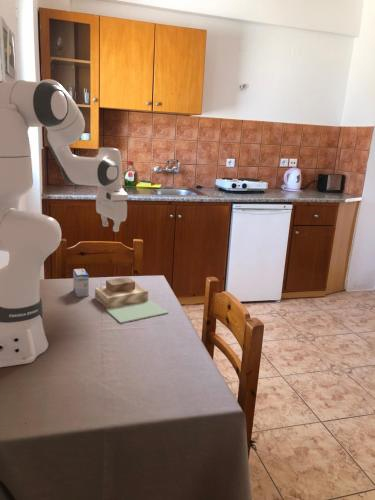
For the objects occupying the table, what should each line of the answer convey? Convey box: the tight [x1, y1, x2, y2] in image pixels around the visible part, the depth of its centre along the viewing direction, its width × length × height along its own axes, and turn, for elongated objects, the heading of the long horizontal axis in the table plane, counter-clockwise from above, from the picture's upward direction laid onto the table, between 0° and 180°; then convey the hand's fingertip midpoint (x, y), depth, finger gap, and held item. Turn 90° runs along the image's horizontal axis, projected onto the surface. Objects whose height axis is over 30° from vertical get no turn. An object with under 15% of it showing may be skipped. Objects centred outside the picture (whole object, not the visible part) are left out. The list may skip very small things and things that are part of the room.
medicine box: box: [72, 268, 90, 298], centre depth 158 cm, size 8×4×9 cm, turn 25°
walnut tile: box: [105, 276, 136, 293], centre depth 154 cm, size 9×6×3 cm, turn 123°
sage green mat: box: [105, 300, 169, 325], centre depth 144 cm, size 18×12×1 cm, turn 123°
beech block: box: [94, 282, 149, 309], centre depth 154 cm, size 16×12×4 cm
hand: (110, 228), depth 156 cm, fingers open, 8 cm apart
